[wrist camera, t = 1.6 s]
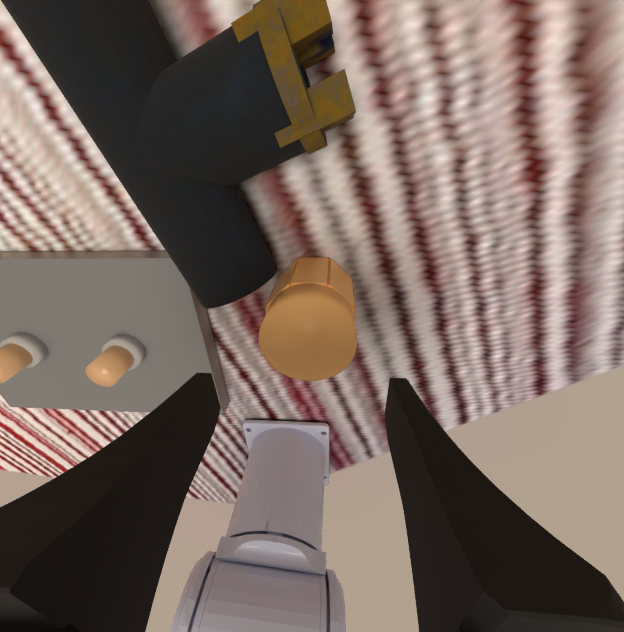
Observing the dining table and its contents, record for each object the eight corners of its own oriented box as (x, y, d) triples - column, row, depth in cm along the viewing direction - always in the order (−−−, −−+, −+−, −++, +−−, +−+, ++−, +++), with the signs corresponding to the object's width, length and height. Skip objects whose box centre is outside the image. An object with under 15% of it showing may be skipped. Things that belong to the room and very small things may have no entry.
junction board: (229, 401, 26) (210, 446, 22) (25, 394, 28) (-25, 435, 24) (192, 250, 19) (155, 277, 15) (-80, 252, 21) (-177, 277, 17)
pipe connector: (220, -398, 6) (393, 249, 13) (272, -170, 11) (381, 220, 17) (-81, -60, 9) (186, 318, 16) (58, 6, 14) (221, 279, 21)
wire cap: (350, 323, 21) (354, 382, 16) (281, 322, 21) (264, 379, 16) (353, 257, 18) (359, 300, 13) (275, 257, 19) (252, 300, 14)
